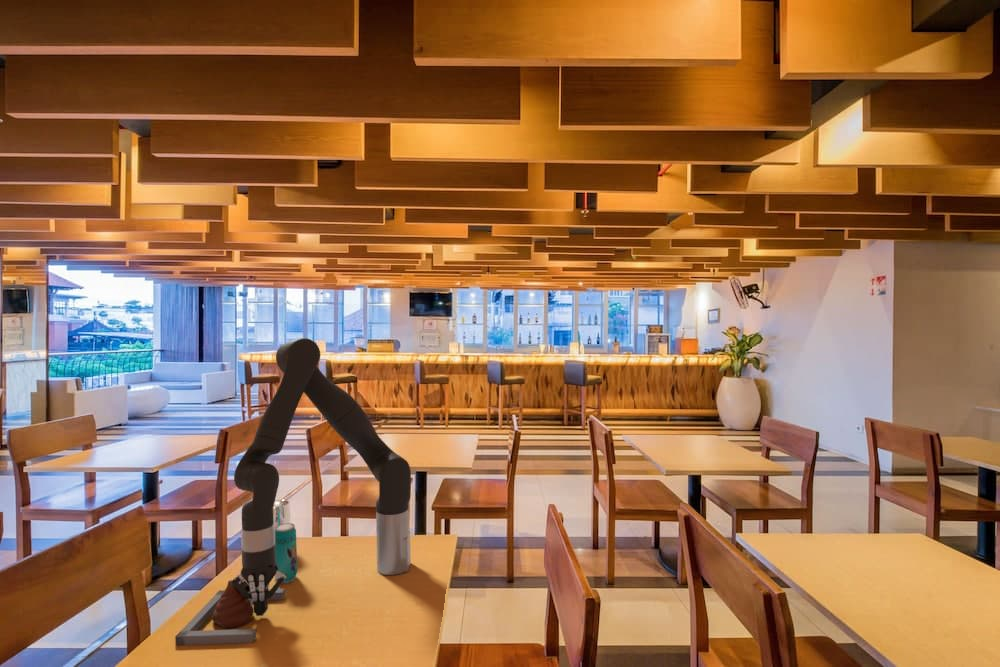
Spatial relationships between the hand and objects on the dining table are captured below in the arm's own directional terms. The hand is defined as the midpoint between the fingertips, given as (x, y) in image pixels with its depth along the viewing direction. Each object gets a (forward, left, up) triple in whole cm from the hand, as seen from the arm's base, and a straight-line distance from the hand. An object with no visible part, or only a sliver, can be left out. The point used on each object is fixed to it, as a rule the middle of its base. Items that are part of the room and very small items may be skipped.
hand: (260, 613), depth 129 cm
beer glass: (+10, -38, -1) cm, 39 cm away
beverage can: (+1, -19, -1) cm, 19 cm away
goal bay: (+6, 0, -1) cm, 6 cm away
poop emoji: (+7, 0, -1) cm, 7 cm away
